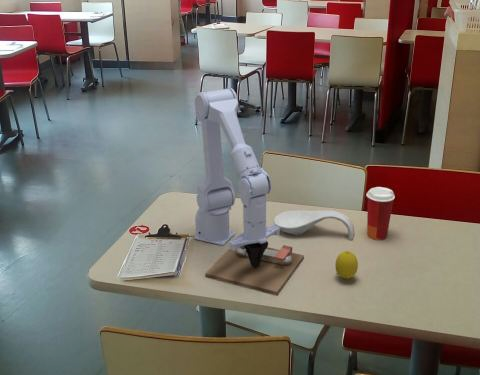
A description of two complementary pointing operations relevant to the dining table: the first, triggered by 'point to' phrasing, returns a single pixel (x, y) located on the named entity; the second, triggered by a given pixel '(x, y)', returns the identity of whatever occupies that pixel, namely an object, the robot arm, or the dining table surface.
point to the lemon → (346, 264)
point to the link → (266, 256)
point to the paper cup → (379, 212)
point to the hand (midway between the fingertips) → (255, 265)
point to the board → (253, 272)
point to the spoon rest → (308, 220)
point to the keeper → (283, 253)
